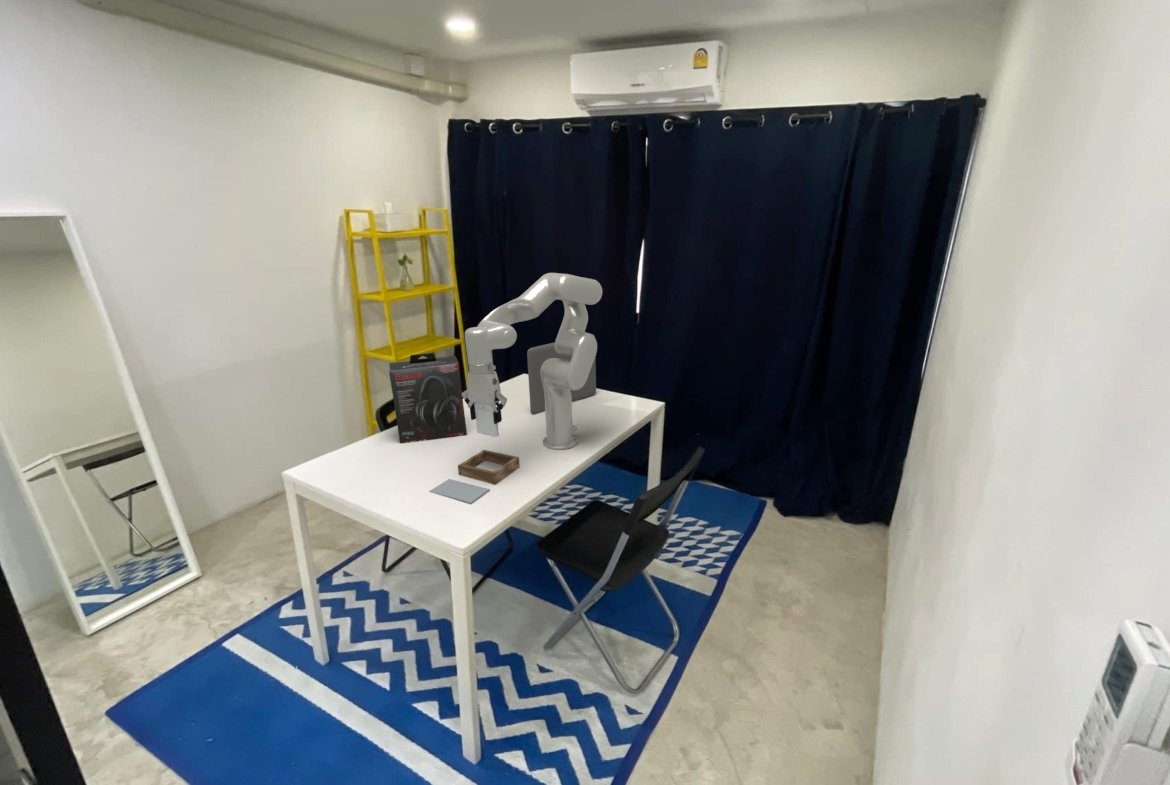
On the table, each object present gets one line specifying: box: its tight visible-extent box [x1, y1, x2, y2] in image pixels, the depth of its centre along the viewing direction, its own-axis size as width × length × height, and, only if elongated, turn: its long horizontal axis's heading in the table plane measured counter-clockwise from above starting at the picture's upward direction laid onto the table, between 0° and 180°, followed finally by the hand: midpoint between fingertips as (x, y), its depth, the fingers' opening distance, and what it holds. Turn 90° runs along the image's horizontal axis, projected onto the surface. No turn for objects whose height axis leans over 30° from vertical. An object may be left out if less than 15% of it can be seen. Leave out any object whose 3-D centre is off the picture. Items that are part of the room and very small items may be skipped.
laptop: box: [526, 333, 597, 415], centre depth 246 cm, size 38×29×29 cm
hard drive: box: [474, 400, 499, 438], centre depth 176 cm, size 2×8×12 cm, turn 58°
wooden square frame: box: [457, 449, 521, 486], centre depth 181 cm, size 13×14×4 cm
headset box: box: [388, 352, 468, 444], centre depth 206 cm, size 24×13×33 cm, turn 109°
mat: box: [428, 478, 491, 505], centre depth 169 cm, size 9×16×1 cm, turn 62°
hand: (486, 420), depth 176 cm, fingers closed on hard drive, 8 cm apart
